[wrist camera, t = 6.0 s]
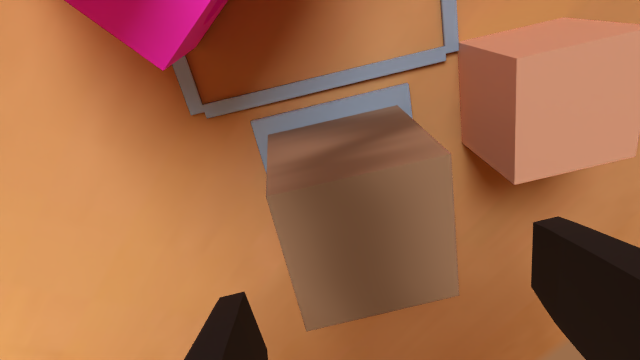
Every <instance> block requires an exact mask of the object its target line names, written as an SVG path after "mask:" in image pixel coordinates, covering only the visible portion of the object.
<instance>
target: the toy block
mask: <svg viewBox="0 0 640 360" xmlns="http://www.w3.org/2000/svg"><path fill="white" fill-rule="evenodd" d="M65 1H66V2H67V3H69V4H70V5H72V6H73V7H74V8H76V9H77V10H79V11H80V12H81V13H83V14H84V15H86V16H87V17H88V18H90V19H91V20H93V21H94V22H95V23H97V24H98V25H99V26H101V27H102V28H104V29H105V30H106V31H108V32H109V33H111V34H112V35H113V36H115V37H116V38H118V39H119V40H120V41H122V42H123V43H125V44H126V45H127V46H129V47H130V48H132V49H133V50H134V51H136V52H137V53H139V54H140V55H141V56H143V57H144V58H146V59H147V60H148V61H150V62H151V63H153V64H154V65H155V66H157V67H158V68H160V69H161V70H162V71H164V70H165V69H166V68H168V67H169V66H171V65H172V64H173V63H175V62H176V61H177V60H179V59H180V58H182V57H183V56H184V55H186V54H187V53H188V52H190V51H191V50H193V49H194V48H195V47H196V46H197V45H198V43H199V42H200V40H201V39H202V38H203V36H204V35H205V33H206V32H207V30H208V29H209V27H210V26H211V25H212V23H213V22H214V20H215V19H216V17H217V16H218V14H219V13H220V11H221V10H222V9H223V7H224V6H225V4H226V3H227V1H228V0H65Z"/></svg>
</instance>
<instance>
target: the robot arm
mask: <svg viewBox="0 0 640 360" xmlns="http://www.w3.org/2000/svg"><path fill="white" fill-rule="evenodd" d="M531 287H532V289H533V290H534V292H535V293H536V295H537V296H538V298H539V300H540V301H541V303H542V304H543V306H544V307H545V309H546V310H547V312H548V313H549V315H550V316H551V318H552V319H553V321H554V322H555V323H556V325H557V326H558V327H559V328H560V330H561V331H562V332H563V333H564V334H565V336H566V337H567V338H568V339H569V340H570V342H571V343H572V344H573V345H574V346H575V347H576V349H577V350H578V351H579V352H580V353H581V355H582V356H583V357H584V358H585V359H586V360H640V248H638V247H636V246H633V245H631V244H628V243H626V242H623V241H621V240H618V239H616V238H613V237H611V236H608V235H606V234H603V233H601V232H598V231H596V230H593V229H591V228H588V227H585V226H583V225H580V224H578V223H575V222H572V221H570V220H567V219H564V218H561V217H554V218H550V219H546V220H541V221H537V222H533V248H532V278H531ZM184 360H268V355H267V348H266V346H265V343H264V340H263V338H262V335H261V333H260V330H259V328H258V325H257V323H256V320H255V318H254V315H253V312H252V310H251V307H250V305H249V302H248V300H247V297H246V295H245V292H241V293H237V294H233V295H228V296H224V297H220V298H219V300H218V301H217V303H216V305H215V307H214V308H213V310H212V312H211V314H210V315H209V317H208V319H207V321H206V322H205V324H204V326H203V328H202V329H201V331H200V333H199V335H198V337H197V338H196V340H195V342H194V343H193V345H192V347H191V349H190V350H189V352H188V354H187V355H186V357H185V359H184Z"/></svg>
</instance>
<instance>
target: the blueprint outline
mask: <svg viewBox="0 0 640 360" xmlns="http://www.w3.org/2000/svg"><path fill="white" fill-rule="evenodd" d="M441 13H442V27H443V41H444V46H443V47H439V48H434V49H430V50H426V51H422V52H418V53H414V54H410V55H406V56H401V57H397V58H393V59H389V60H385V61H381V62H377V63H372V64H368V65H364V66H360V67H356V68H352V69H348V70H344V71H339V72H335V73H331V74H327V75H323V76H319V77H315V78H310V79H306V80H302V81H298V82H294V83H290V84H286V85H282V86H277V87H273V88H269V89H265V90H261V91H257V92H253V93H248V94H244V95H240V96H236V97H232V98H228V99H224V100H220V101H215V102H211V103H207V104H202V101H201V99H200V96H199V93H198V90H197V87H196V85H195V82H194V79H193V76H192V73H191V71H190V68H189V65H188V62H187V59H186V56H185V55H184V56H183V57H182V58H180V59H179V60H177V61H176V62H175V63H173V64H172V66H173V69H174V71H175V74H176V77H177V79H178V82H179V85H180V87H181V90H182V93H183V95H184V98H185V101H186V103H187V106H188V109H189V111H190V114H191V115H194V114H198V113H203V112H205V115H206V118H211V117H215V116H219V115H224V114H228V113H232V112H236V111H240V110H244V109H248V108H252V107H257V106H261V105H265V104H269V103H273V102H277V101H281V100H285V99H290V98H294V97H298V96H302V95H306V94H310V93H314V92H318V91H323V90H327V89H331V88H335V87H339V86H343V85H347V84H352V83H356V82H360V81H364V80H368V79H372V78H376V77H380V76H385V75H389V74H393V73H397V72H401V71H405V70H409V69H413V68H418V67H422V66H426V65H430V64H434V63H438V62H442V61H446V53H450V52H455V51H459V41H458V23H457V4H456V0H441ZM395 105H398V106H399V107H400V108H401V109H402V110H403V111H404V112H405V113H407V114H408V115H409V116H410V117H411V118H412V110H411V101H410V92H409V84H408V83H405V84H401V85H396V86H392V87H388V88H384V89H380V90H376V91H372V92H368V93H363V94H359V95H355V96H351V97H347V98H343V99H339V100H334V101H330V102H326V103H322V104H318V105H314V106H310V107H306V108H301V109H297V110H293V111H289V112H285V113H281V114H277V115H273V116H268V117H264V118H260V119H256V120H252V121H251V125H252V129H253V132H254V135H255V138H256V142H257V145H258V148H259V151H260V155H261V158H262V161H263V164H264V168H265V171H266V174H267V146H268V135H269V134H273V133H278V132H282V131H286V130H291V129H295V128H300V127H304V126H308V125H313V124H317V123H321V122H326V121H330V120H334V119H339V118H343V117H347V116H352V115H356V114H360V113H365V112H369V111H374V110H378V109H382V108H387V107H391V106H395Z"/></svg>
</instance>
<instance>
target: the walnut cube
mask: <svg viewBox="0 0 640 360" xmlns="http://www.w3.org/2000/svg"><path fill="white" fill-rule="evenodd" d="M266 198H267V202H268V205H269V208H270V212H271V215H272V218H273V222H274V225H275V228H276V231H277V235H278V238H279V241H280V245H281V248H282V251H283V255H284V258H285V261H286V265H287V268H288V271H289V275H290V278H291V281H292V285H293V288H294V291H295V295H296V298H297V301H298V305H299V308H300V311H301V315H302V318H303V321H304V325H305V328H306V331H311V330H315V329H319V328H324V327H328V326H332V325H336V324H341V323H345V322H349V321H353V320H358V319H362V318H366V317H370V316H374V315H379V314H383V313H387V312H391V311H396V310H400V309H404V308H408V307H413V306H417V305H421V304H425V303H430V302H434V301H438V300H442V299H447V298H451V297H455V296H459V283H458V265H457V248H456V230H455V213H454V195H453V178H452V160H451V153H450V152H449V151H448V150H446V149H445V148H444V147H443V146H442V145H441V144H440V143H439V142H438V141H436V140H435V139H434V138H433V137H432V136H431V135H430V134H429V133H428V132H427V131H425V130H424V129H423V128H422V127H421V126H420V125H419V124H418V123H417V122H415V121H414V120H413V119H412V118H411V117H410V116H409V115H408V114H407V113H405V112H404V111H403V110H402V109H401V108H400V107H399V106H398V105H395V106H391V107H387V108H382V109H378V110H374V111H369V112H365V113H360V114H356V115H352V116H347V117H343V118H339V119H334V120H330V121H326V122H321V123H317V124H313V125H308V126H304V127H300V128H295V129H291V130H286V131H282V132H278V133H273V134H269V135H268V146H267V180H266Z"/></svg>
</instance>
